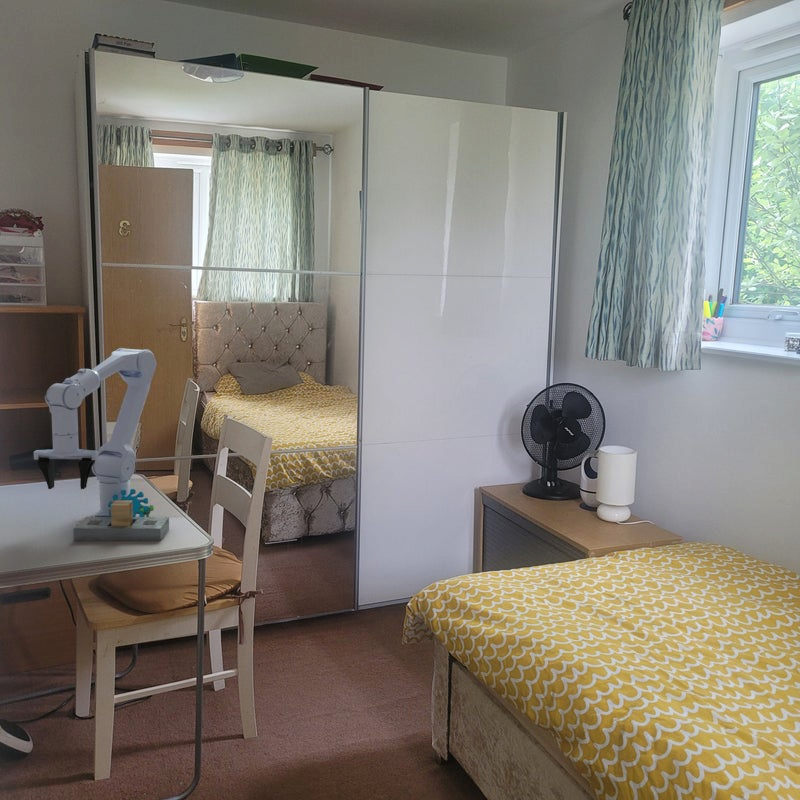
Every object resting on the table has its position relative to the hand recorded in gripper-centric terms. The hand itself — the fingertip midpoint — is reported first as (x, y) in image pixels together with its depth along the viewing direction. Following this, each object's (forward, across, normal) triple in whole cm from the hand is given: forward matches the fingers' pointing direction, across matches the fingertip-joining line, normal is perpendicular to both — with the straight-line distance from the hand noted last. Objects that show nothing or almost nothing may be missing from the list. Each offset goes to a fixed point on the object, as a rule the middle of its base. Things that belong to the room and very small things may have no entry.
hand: (67, 488), depth 186 cm
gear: (+11, +13, +7) cm, 18 cm away
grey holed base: (+10, +14, -4) cm, 18 cm away
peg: (+10, +14, -4) cm, 18 cm away
